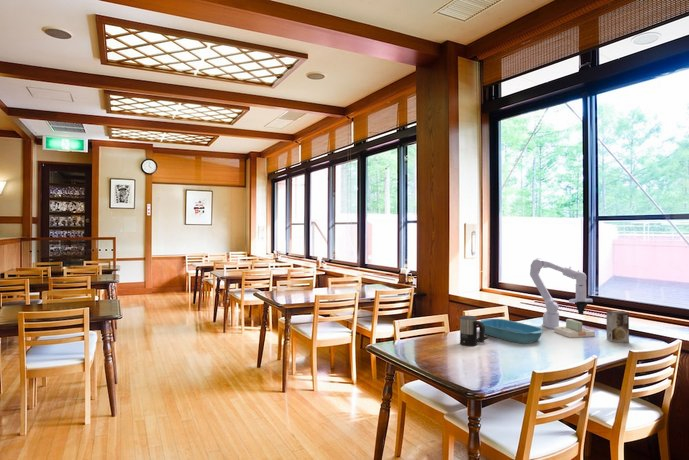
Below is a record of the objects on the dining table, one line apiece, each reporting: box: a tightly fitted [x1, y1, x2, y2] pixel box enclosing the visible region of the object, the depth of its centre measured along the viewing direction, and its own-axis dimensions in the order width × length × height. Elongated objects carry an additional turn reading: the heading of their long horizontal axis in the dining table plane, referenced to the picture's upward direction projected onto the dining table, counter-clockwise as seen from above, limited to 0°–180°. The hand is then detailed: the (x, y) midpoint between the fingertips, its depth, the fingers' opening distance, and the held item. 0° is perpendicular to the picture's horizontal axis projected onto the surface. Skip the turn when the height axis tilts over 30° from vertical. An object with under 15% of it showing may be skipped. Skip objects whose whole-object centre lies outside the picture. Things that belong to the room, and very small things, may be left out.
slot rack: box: [553, 326, 596, 339], centre depth 255 cm, size 14×16×3 cm
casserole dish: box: [480, 318, 544, 344], centre depth 249 cm, size 37×22×7 cm, turn 35°
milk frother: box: [459, 315, 490, 347], centre depth 236 cm, size 14×16×15 cm
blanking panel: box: [565, 318, 583, 332], centre depth 255 cm, size 10×3×7 cm, turn 9°
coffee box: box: [606, 310, 630, 343], centre depth 240 cm, size 9×6×16 cm
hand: (580, 314), depth 263 cm, fingers closed
